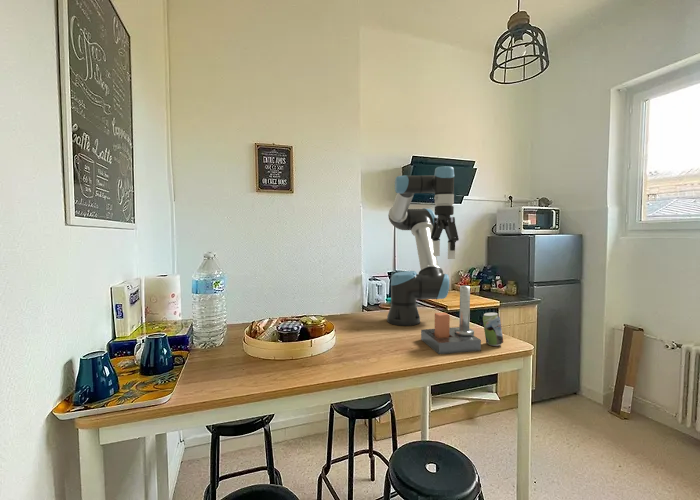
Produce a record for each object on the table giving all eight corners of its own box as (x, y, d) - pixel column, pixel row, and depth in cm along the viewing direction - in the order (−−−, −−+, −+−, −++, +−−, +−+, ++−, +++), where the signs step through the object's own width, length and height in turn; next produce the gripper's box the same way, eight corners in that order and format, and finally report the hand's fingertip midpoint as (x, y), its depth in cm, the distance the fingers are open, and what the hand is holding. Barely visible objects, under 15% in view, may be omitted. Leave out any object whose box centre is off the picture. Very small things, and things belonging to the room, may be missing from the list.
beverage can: (505, 348, 127) (505, 315, 126) (483, 346, 129) (484, 314, 128) (501, 342, 133) (501, 311, 132) (480, 341, 135) (481, 310, 134)
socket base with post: (421, 339, 137) (421, 284, 136) (461, 336, 140) (462, 282, 139) (439, 354, 121) (439, 292, 120) (484, 350, 125) (485, 289, 123)
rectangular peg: (434, 344, 132) (434, 313, 131) (444, 343, 133) (444, 312, 132) (439, 347, 128) (439, 315, 127) (449, 346, 129) (449, 315, 128)
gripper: (423, 207, 153) (422, 255, 155) (450, 203, 129) (449, 260, 130) (439, 207, 154) (438, 254, 156) (468, 203, 130) (467, 260, 132)
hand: (443, 257), depth 143 cm, fingers open, 13 cm apart
